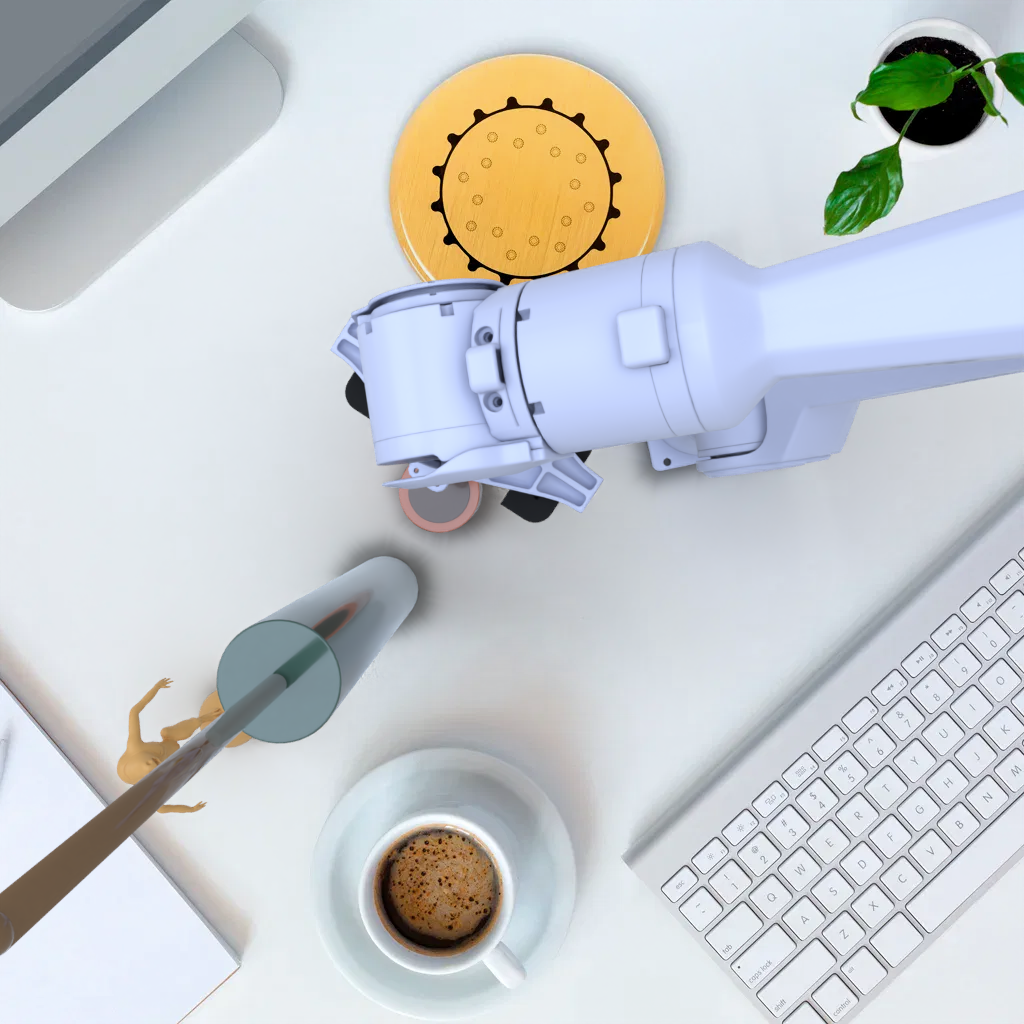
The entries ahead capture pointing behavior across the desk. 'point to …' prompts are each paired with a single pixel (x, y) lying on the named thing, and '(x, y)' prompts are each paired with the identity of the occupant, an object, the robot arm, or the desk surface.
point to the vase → (240, 715)
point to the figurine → (166, 742)
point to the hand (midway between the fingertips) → (474, 425)
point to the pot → (441, 505)
